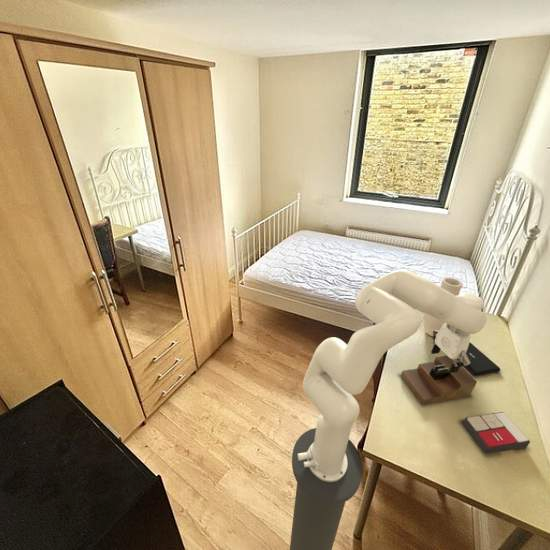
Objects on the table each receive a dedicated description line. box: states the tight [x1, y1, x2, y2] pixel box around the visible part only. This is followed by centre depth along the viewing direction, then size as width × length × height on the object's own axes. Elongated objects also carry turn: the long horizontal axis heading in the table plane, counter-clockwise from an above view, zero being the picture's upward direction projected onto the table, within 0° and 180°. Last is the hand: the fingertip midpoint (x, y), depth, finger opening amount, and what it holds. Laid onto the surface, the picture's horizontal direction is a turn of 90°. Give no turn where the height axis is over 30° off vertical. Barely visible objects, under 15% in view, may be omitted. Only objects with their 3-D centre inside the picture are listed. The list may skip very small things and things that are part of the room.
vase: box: [422, 276, 464, 338], centre depth 137 cm, size 14×14×30 cm
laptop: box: [457, 341, 501, 377], centre depth 129 cm, size 16×20×2 cm
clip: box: [430, 364, 449, 380], centre depth 113 cm, size 3×6×5 cm, turn 102°
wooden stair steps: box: [400, 355, 478, 406], centre depth 114 cm, size 21×14×8 cm, turn 102°
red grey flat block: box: [462, 411, 531, 455], centre depth 98 cm, size 11×4×15 cm
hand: (443, 362), depth 110 cm, fingers open, 9 cm apart
